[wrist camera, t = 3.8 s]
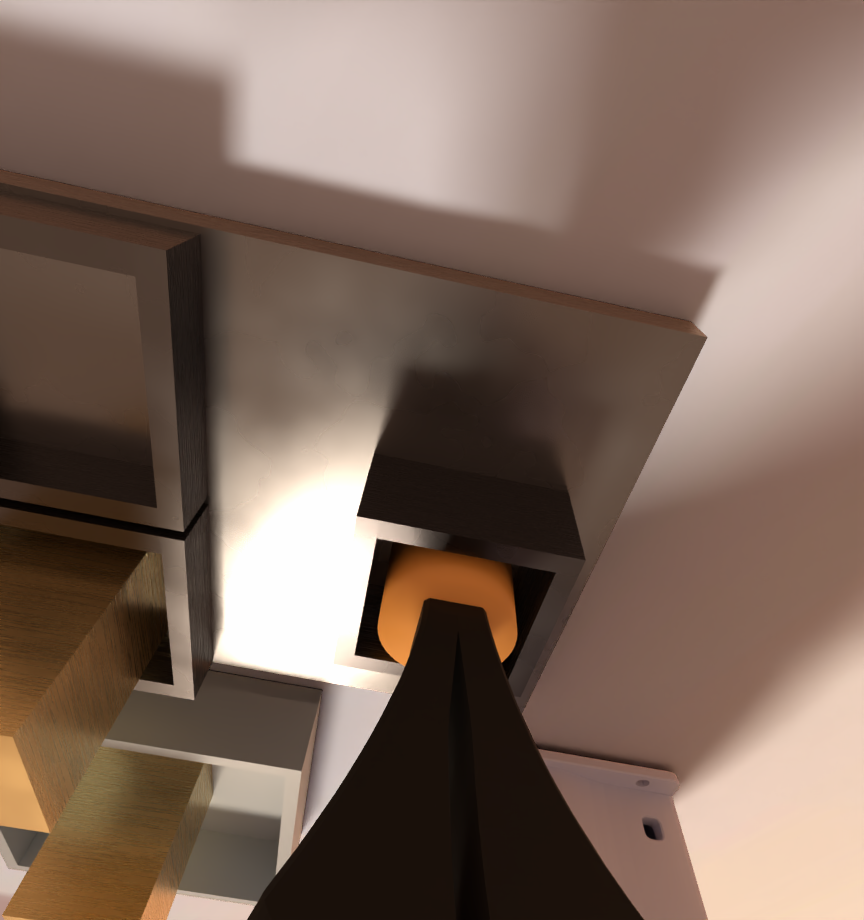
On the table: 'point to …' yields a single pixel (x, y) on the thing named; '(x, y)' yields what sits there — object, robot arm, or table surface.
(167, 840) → the billet
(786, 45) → the table surface
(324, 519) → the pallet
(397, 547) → the button
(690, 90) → the table surface
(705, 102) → the table surface
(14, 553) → the billet
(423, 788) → the robot arm
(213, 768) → the tote
